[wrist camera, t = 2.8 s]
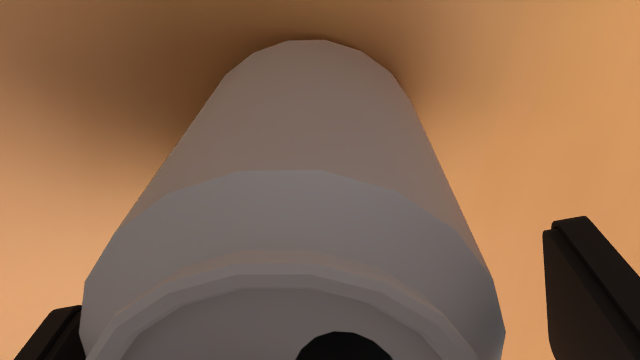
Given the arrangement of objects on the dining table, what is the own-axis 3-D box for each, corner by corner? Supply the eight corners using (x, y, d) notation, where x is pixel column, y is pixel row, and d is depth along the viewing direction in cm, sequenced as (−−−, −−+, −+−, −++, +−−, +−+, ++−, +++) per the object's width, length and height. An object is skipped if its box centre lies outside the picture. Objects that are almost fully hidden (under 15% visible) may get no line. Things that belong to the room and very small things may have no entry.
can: (424, 214, 20) (539, 565, 9) (235, 240, 20) (129, 596, 10) (404, 14, 16) (548, 186, 6) (180, 54, 17) (-77, 276, 6)
